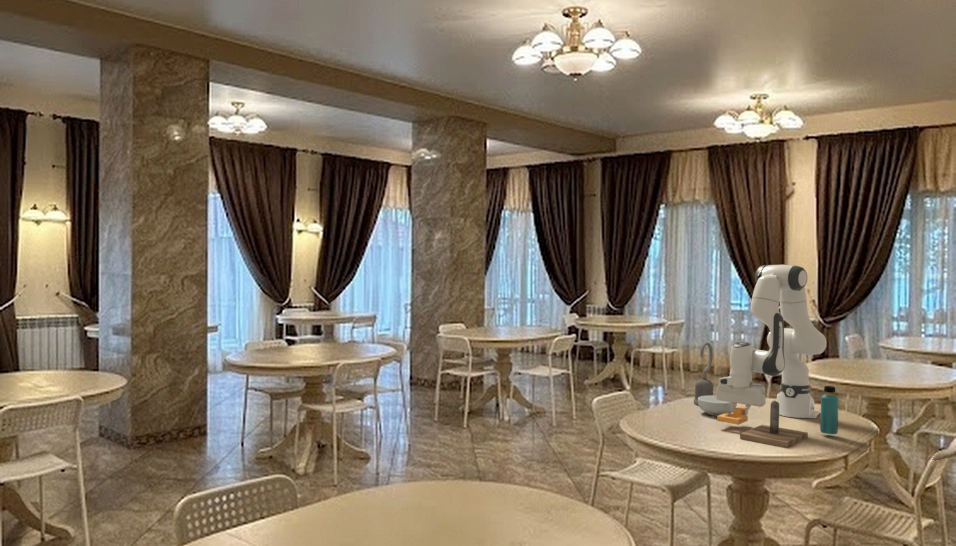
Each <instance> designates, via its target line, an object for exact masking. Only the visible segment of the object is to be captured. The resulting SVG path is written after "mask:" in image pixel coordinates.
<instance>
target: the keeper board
mask: <svg viewBox="0 0 956 546" xmlns="http://www.w3.org/2000/svg"><path fill="white" fill-rule="evenodd" d="M769 413H770V416H769V418H770V419H769V425H767V424H761V425H758V426H755V427H753V428H751V429H748V430H746V431H743V432H740V433H739V439H740V440H745V441H750V442H756V443H762V444H764V445H765V444H766V445H771V446H776V447H782V448H789V447H793V446H794V445H796V444H798V443H800V442H802V441H804V440H806V439H808V438H809V437H808V436H809V433H808V432H807V431H801V430H800V431H799V430H796V429H795V430H794V429H788V428H783V427H780V415H779V403H778V402H777V400H774V401H772V402H770V412H769ZM805 438H806V439H805ZM803 439H804V440H803ZM801 440H802V441H801ZM799 441H800V442H799ZM797 442H798V443H797ZM795 443H796V444H795Z"/></svg>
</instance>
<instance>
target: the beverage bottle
mask: <svg viewBox="0 0 956 546" xmlns="http://www.w3.org/2000/svg"><path fill="white" fill-rule="evenodd" d="M823 391H824V392H825V393H824V394H822V395H821V396H820V414H819V415H820V416H819V418H820V420H819V428H820V430H819V431H820V432H821V433H822V434H827V435H837V434H838V432H839V397H838V396H837V395H835V394H833V393H836V387H835V386H832V385H825V386H824V387H823Z"/></svg>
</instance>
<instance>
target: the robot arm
mask: <svg viewBox="0 0 956 546" xmlns="http://www.w3.org/2000/svg"><path fill="white" fill-rule="evenodd" d="M807 273H808V272H807V271H806V269H805V268H804V267H801V266H799V265H790V264H764V265H760V266H759V267H758V268H757V270H756V271H755V274H754V280H755V281H754V282H755V283H756V284H755V286H754V288H753V292H752V296H751V302H750V312H751V314H752V316H753V317H754V318H755V319H756V320H757V321H759V322H761V323H763V324H764V325H766V327H768V329H769V332H768V334H767V336H766V341H767V342H766V343H767V344H768V347H769V350H764V349H762V350H761V349H757V348H755V347H753V346H752V344H751V343H750V342H746V341H737V342H735V343H733V344H732V345H731V347H730V355H729V365H730V370H729V371H730V372H729V375H728V376H724V377H720V378H718V379H717V381H718V382H717V383H718V385H717V386H716V390H715V396H716V398H717V400H720V401H726V402H730V406H731V407H732V409H733V412H732V413H733V414H734V409H735V405H734V404H735V403H737V404H740V405H745V408H746V410H743V415H747V416H749V410H750V409H751V407H760V408H761V407H764V406H766V403H767V402H766V390H767V389H766V386H764V385H763V384H762V383H756V382H753V373H752V372H754V373H758V374H762V375H763V374H764V375H768V376H771V377H777V376H778V375H780V374H781V382H780V386H779V387H780V388H779V389H780V392H778V393H777V396H776V401H777V402H778V403H779V416H783V417H786V418H795V419H796V418H798V419H817V417H818V416H819V415H820V414H821V410H818V409H815V400H814V398H813V396H812V395H811V393H810V392H811V391H810V389H811V388H812V386H811V384H809V376H810V375H809V373H810V372H809V370H810V369H809V367H808V365H807V364H806V363H804V362H803V361H801V360H800V358H799V357H798V355H799V354H800V355H807V356H811V355H812V356H814V355H815V356H817V355H821V354H822V353H824V352H825V350H826V349H827V346H828V345H827V338H826V336H825V335H824V333H822V332H820V331H819V330H818V329H817V328H816V327H815V325H814V324H813V322H812V320H811V319H810V315H809V311H808V301H807V300H808V299H807V293H806V288H805V286H806V285H807V283H808V274H807ZM785 322H786V323H788V324H789V325H790V326H791V327H792V328H787V327H785Z"/></svg>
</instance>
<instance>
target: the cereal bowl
mask: <svg viewBox="0 0 956 546" xmlns="http://www.w3.org/2000/svg"><path fill="white" fill-rule="evenodd" d="M737 404H738V403H735V404H734V405H735V408H737V407H738V405H737ZM697 406H698V407H699V408H700V409H701V410H702V411H703V412H705V413H706V414H708V415H710V416H713V415H714V416H715V417H717V416H719V415H722V414H724V413H733V409H732V407H731V406H730V402H726V401H720V400H717V398H716V395H713V396H700V397H698V405H697Z"/></svg>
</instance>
